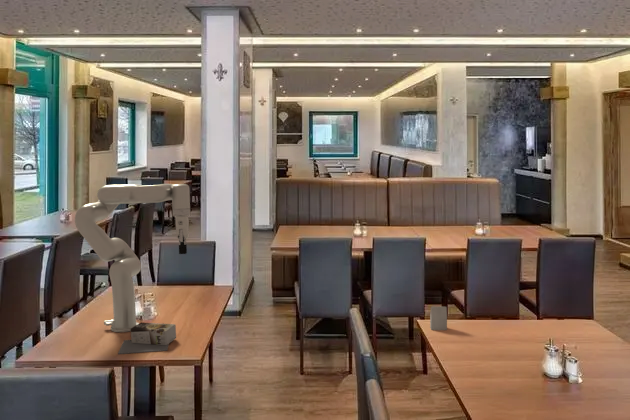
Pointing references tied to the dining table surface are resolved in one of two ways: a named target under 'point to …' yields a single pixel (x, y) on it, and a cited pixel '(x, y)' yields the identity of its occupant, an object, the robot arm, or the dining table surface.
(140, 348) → the mat
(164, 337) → the coffee box
